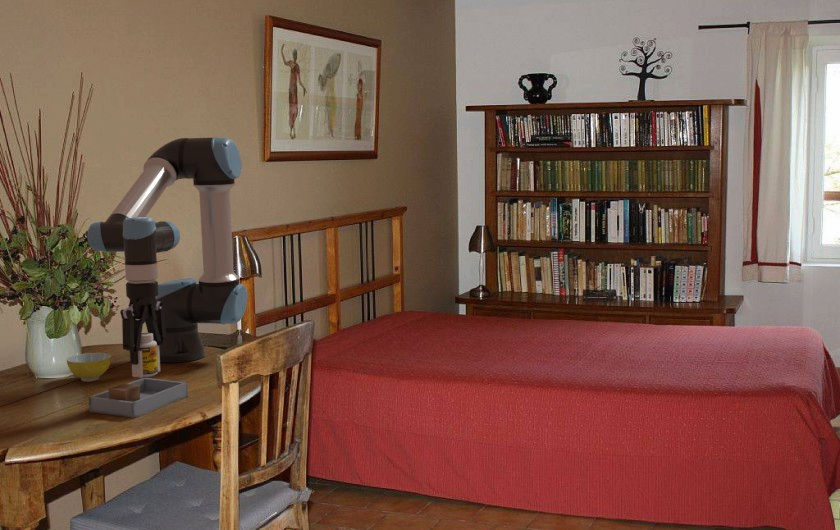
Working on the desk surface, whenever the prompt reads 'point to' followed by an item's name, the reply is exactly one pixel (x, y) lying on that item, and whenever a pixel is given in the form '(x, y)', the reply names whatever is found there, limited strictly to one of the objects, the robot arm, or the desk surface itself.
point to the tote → (151, 398)
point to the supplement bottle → (149, 354)
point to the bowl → (89, 365)
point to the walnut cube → (125, 392)
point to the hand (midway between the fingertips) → (146, 373)
